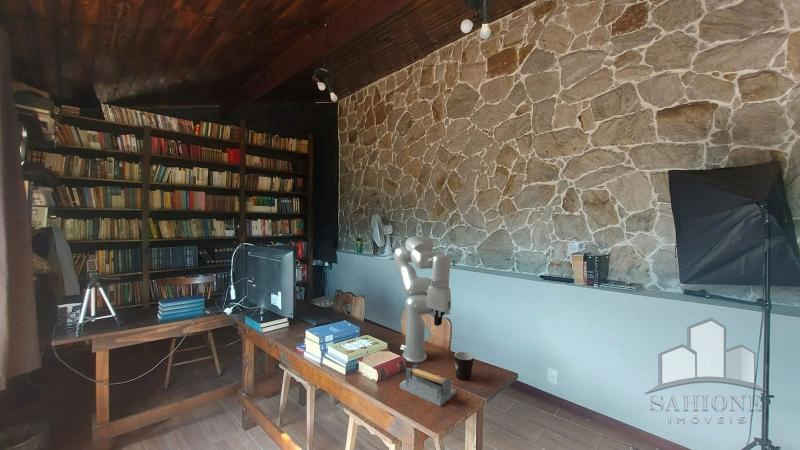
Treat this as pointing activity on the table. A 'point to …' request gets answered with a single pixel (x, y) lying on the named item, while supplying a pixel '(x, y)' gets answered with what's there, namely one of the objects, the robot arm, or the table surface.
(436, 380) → the tan rectangular bar
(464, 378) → the coffee mug
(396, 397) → the table surface
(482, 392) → the table surface
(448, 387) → the grey slotted holder
